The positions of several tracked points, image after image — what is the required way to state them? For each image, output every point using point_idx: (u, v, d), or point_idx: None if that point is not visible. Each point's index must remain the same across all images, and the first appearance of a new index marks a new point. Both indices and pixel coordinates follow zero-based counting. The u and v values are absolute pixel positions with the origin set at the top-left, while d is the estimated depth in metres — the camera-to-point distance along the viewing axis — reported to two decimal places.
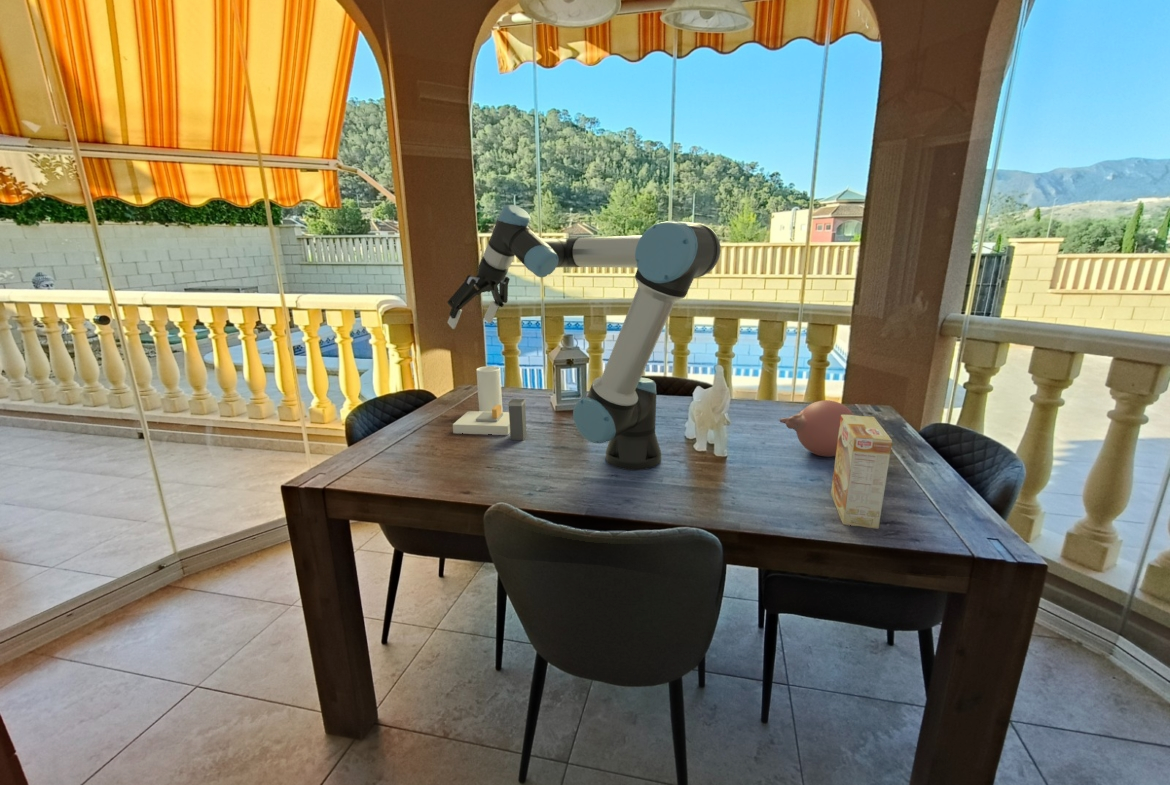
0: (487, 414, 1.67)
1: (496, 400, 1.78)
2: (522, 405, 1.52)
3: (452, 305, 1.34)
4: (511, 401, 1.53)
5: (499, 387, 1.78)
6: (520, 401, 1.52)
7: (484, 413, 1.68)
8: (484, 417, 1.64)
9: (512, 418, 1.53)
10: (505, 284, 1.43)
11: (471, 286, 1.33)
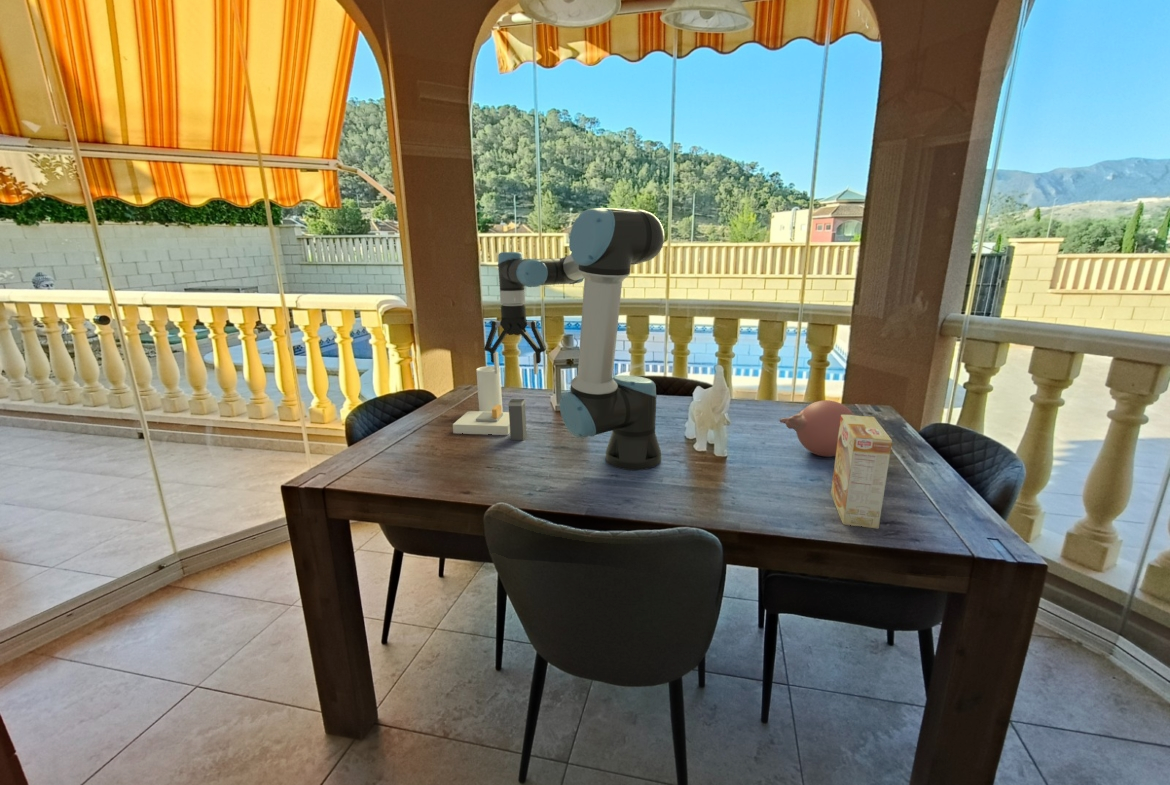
0: (487, 414, 1.67)
1: (496, 400, 1.78)
2: (522, 405, 1.52)
3: None
4: (511, 401, 1.53)
5: (499, 387, 1.78)
6: (520, 401, 1.52)
7: (484, 413, 1.68)
8: (484, 417, 1.64)
9: (512, 418, 1.53)
10: (532, 328, 1.54)
11: (492, 327, 1.55)
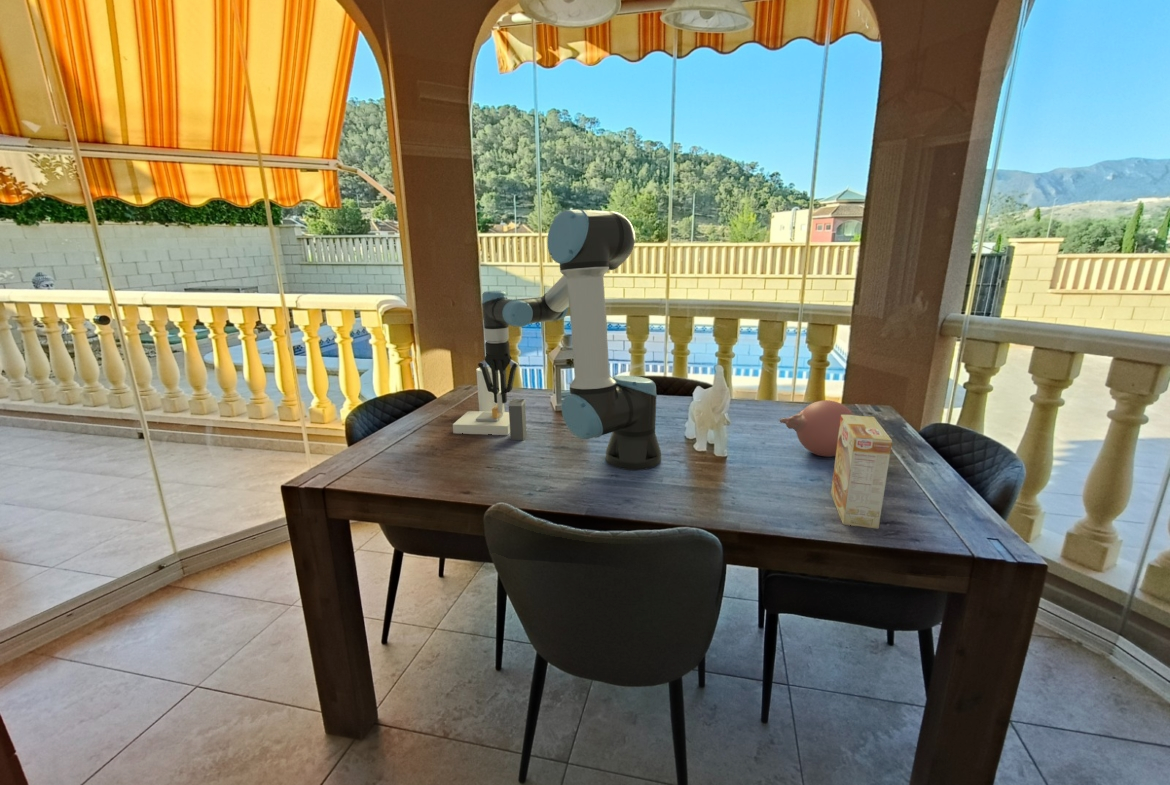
0: (487, 414, 1.67)
1: None
2: (522, 405, 1.52)
3: None
4: (511, 401, 1.53)
5: (499, 387, 1.78)
6: (520, 401, 1.52)
7: (484, 413, 1.68)
8: (484, 417, 1.64)
9: (512, 418, 1.53)
10: (511, 368, 1.59)
11: (482, 368, 1.60)
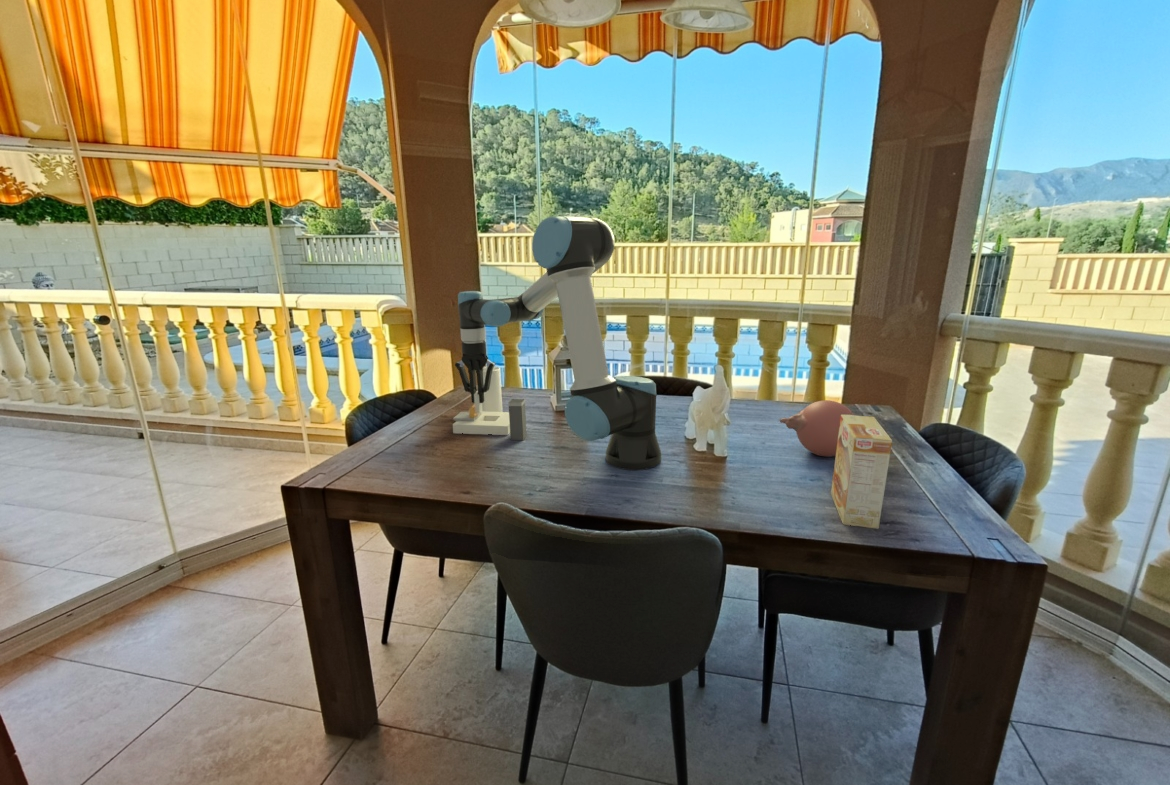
0: (465, 413, 1.68)
1: (496, 400, 1.78)
2: (522, 405, 1.52)
3: None
4: (511, 401, 1.53)
5: (499, 387, 1.78)
6: (520, 401, 1.52)
7: (462, 412, 1.69)
8: (462, 416, 1.65)
9: (512, 418, 1.53)
10: (487, 368, 1.60)
11: (459, 368, 1.61)
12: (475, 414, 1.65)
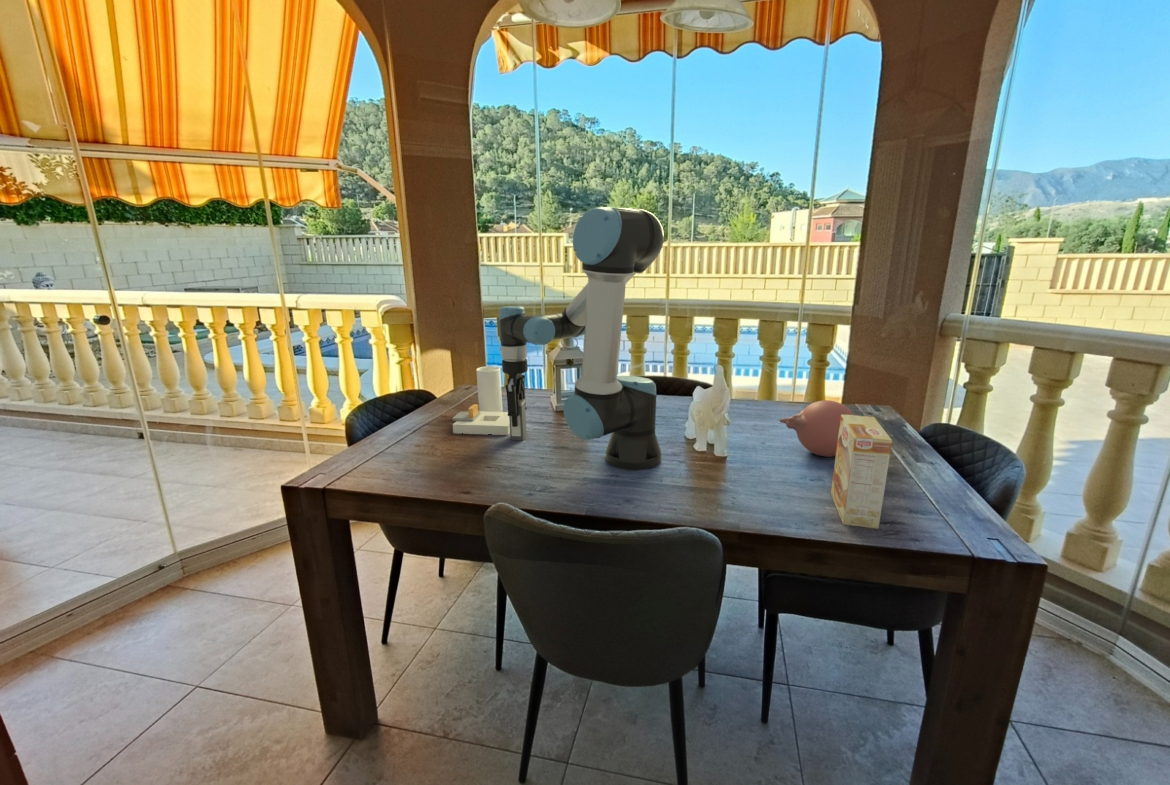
0: (464, 413, 1.68)
1: (496, 400, 1.78)
2: (522, 405, 1.52)
3: (514, 413, 1.48)
4: None
5: (499, 387, 1.78)
6: (520, 401, 1.52)
7: (461, 412, 1.69)
8: (461, 416, 1.65)
9: None
10: (523, 381, 1.56)
11: (514, 390, 1.46)
12: (474, 414, 1.65)
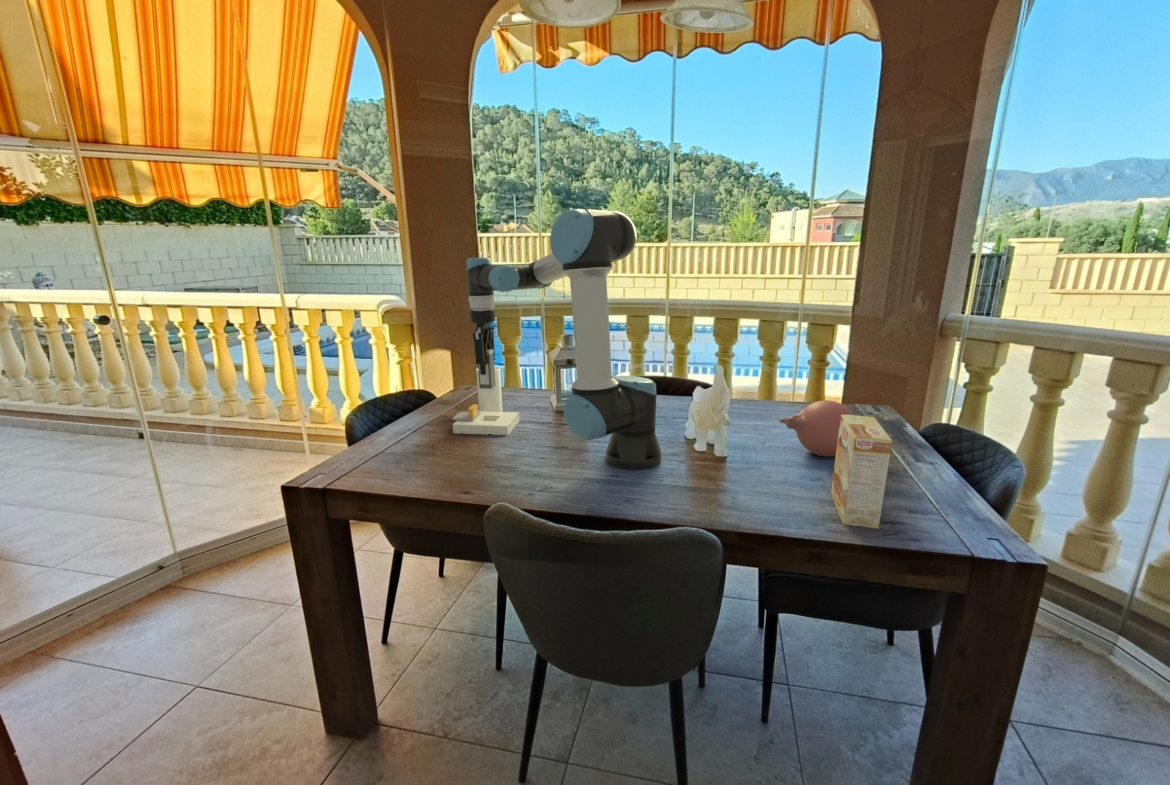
0: (464, 413, 1.68)
1: (496, 400, 1.78)
2: (490, 354, 1.59)
3: (482, 361, 1.55)
4: None
5: (499, 387, 1.78)
6: (488, 350, 1.59)
7: (461, 412, 1.69)
8: (461, 416, 1.65)
9: None
10: (492, 332, 1.63)
11: (481, 338, 1.53)
12: (474, 414, 1.65)
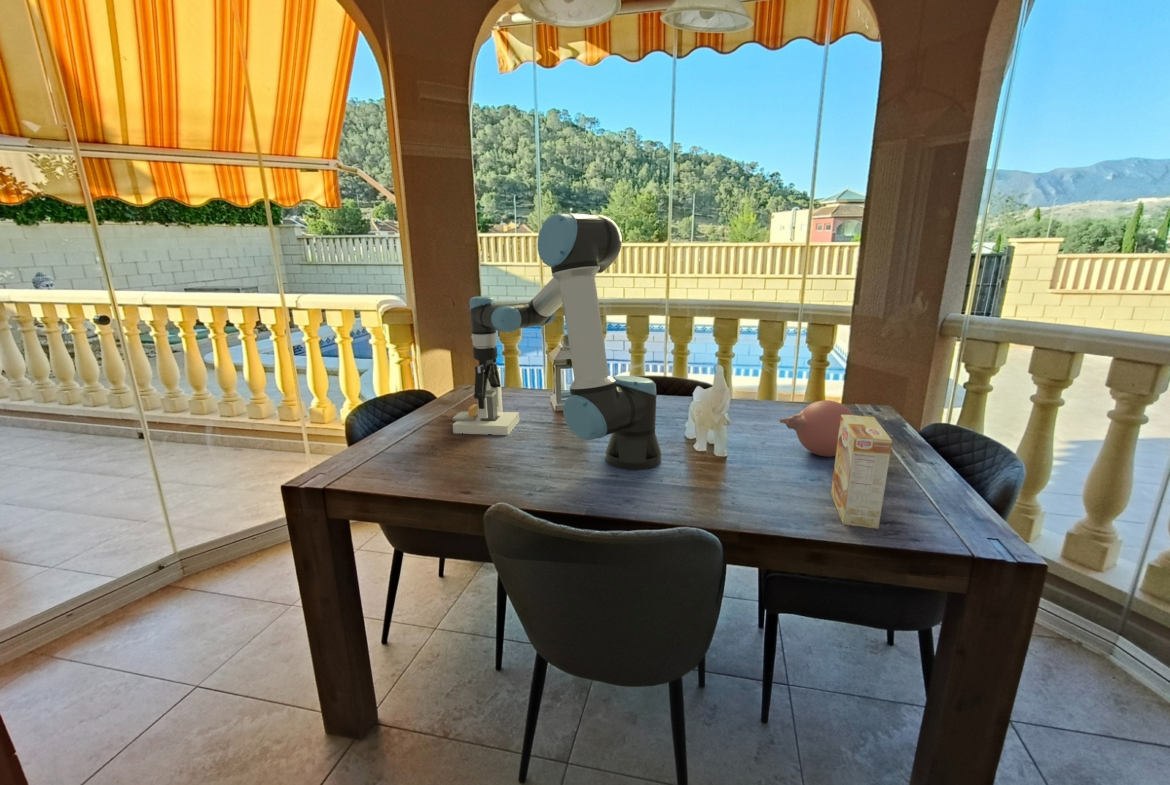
0: (464, 413, 1.68)
1: None
2: (493, 396, 1.62)
3: (480, 395, 1.54)
4: None
5: (499, 387, 1.78)
6: (491, 392, 1.62)
7: (461, 412, 1.69)
8: (461, 416, 1.65)
9: None
10: (495, 364, 1.66)
11: (483, 372, 1.55)
12: (474, 414, 1.65)
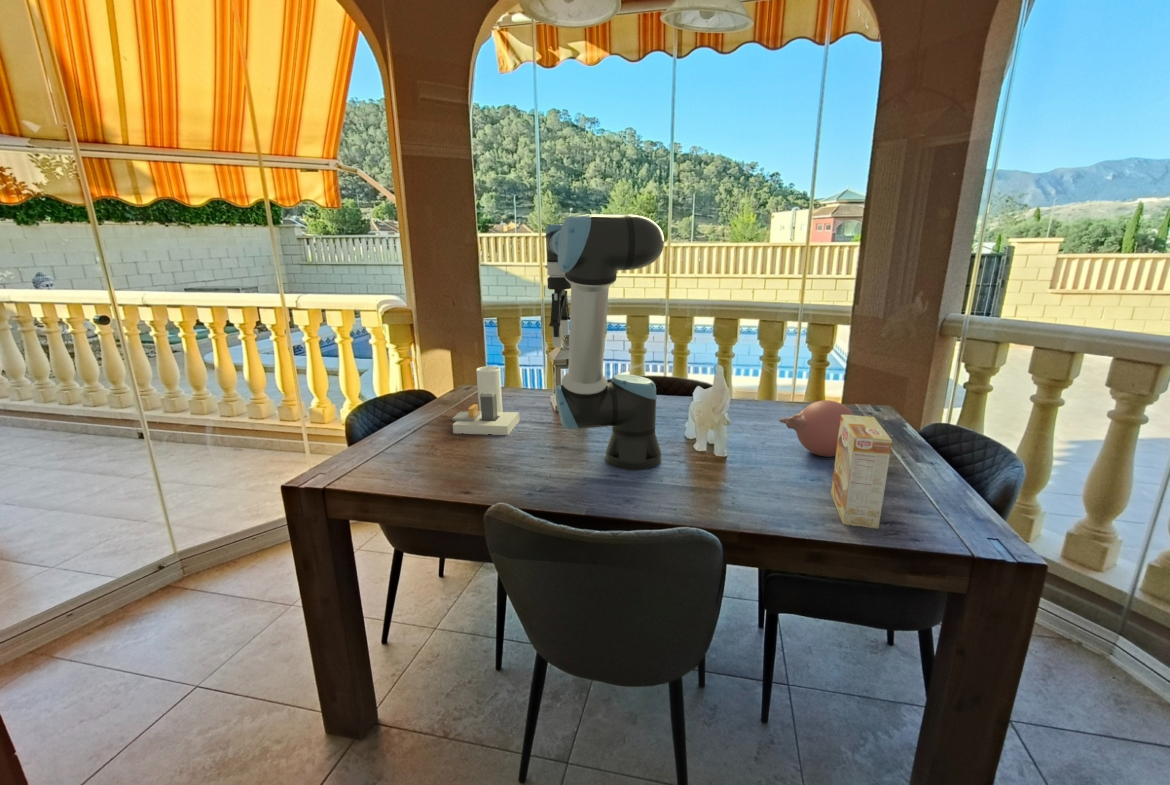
0: (464, 413, 1.68)
1: (496, 400, 1.78)
2: (493, 396, 1.62)
3: (556, 322, 1.52)
4: (482, 392, 1.63)
5: (499, 387, 1.78)
6: (491, 392, 1.62)
7: (461, 412, 1.69)
8: (461, 416, 1.65)
9: (483, 408, 1.63)
10: None
11: (559, 300, 1.53)
12: (474, 414, 1.65)
